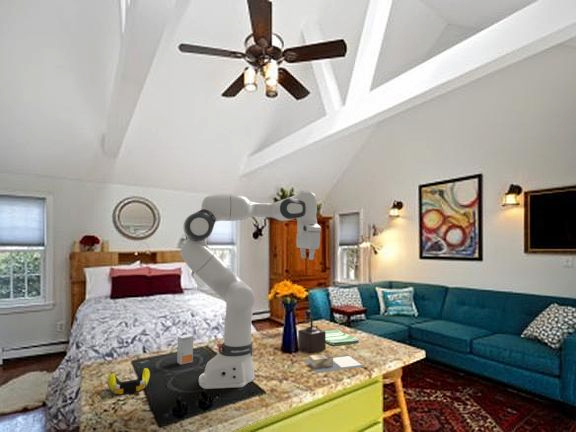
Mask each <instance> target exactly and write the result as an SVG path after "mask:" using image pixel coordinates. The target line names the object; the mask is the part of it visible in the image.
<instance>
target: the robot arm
mask: <svg viewBox="0 0 576 432" xmlns="http://www.w3.org/2000/svg"><path fill="white" fill-rule="evenodd" d="M201 202H202V203H201V209H200V210H198V211H196V212H194V213H192V214H190V215H188V216H187V217H186V218H185V220H184V221H183V227H182V228H183V233H184V236H185V240H186V241H185V243H183V244H182V246H181V248H180V252H179V254H180V255H179V256H180V257H181V259H182V260H183V261H184V263H185V264H186V266H187V267H188V268H189V269H190V270H191V271H192V272H193V273H194V274H195V275H196V276H197V277H198V278H199V279H200V280H201V281H202V282H203V283H204V284H206V285H207V287H209V288H210V289H211V290H212V291H214V293H215V294H216V295H217V296H219V297H220V298H221V299H222V300H223V301H224V302H225V304H226V305H225V306H226V307H225V319H224V324H223V325H224V327H223V328H224V329H223V333H224V335H223V337H224V338H223V343H222V342H218V343H217V344H216V347H217V349H218V353H217V354H216V355H215V356H213V357H212V358H211V359H210V360H209V361H207V363H206V365H205V369H204V372H203V373H201V374H200V375H199V377H198V385H199V386H200V387H201V388H202V389H205V390H210V389H211V390H213V389H227V388H228V389H230V388H243V387H245V386H246V385H247V384H248V383H251V382H253V381H254V380H255V379H256V378H255V377H256V375H255V371H254V366H253V350H254V349H253V348H254V347H253V342H252V320H253V316H254V315H253V314H254V304H255V299H256V297H255V293H254V290H253V289H252V288H251V286H250V285H248V284H246V283H245V282H244V281H243V280H242V279H241V278H240V277H239V275H237V274H236V273H235V272H234V271H233V270H232V269H231V268H230V267H229V266H228V265H227V264H226V263H225V262H224V261H223V260H222V259H221V257H219V256H218V255H217V254H216V253H215V252H214V251H213V250H212V249H211V248H210V247H209V246H208V244H207V241H206V239H208V238H209V237H210V236H211V234H213V233H212V232H213V230H214V227H215V225H216V222H222V221H223V222H232V221H233V222H236V221H237V222H238V221H242V220H247V219H250V218H256V217H258V218H259V217H260V218H271V219H274V220H275V221H279V222H287V221H291V220H294V219H296V221H297V222H296V223H297V227H296V228H297V229H296V231H297V233H296V242H295V243H296V244H295V245H296V248H299V250H300V251H299V252H300V257H301V259H306V258H307V254H306V250H308V251H309V255H308V260H310V261H314V259H315V257H314V256H315V253H316V250H319V249H320V247H321V231H322V227H321V226H320V225H319V224H318V219H317V213H318V205H317V204H318V202H317V196H316V194H315V193H313V192H312V191H308V190H300V191H298V192H297V193H296V194H294V195H292V196H290V197H287V198H283V199H280V200H277V201H275V202H272V203H267V202H266V203H264V202H254V201H252V200H250V199H248V198H247V197H246V196H243V195H239V194H232V193H231V194H227V193H224V194H221V193H220V194H212V195H208V196H205V197H204V199H203V200H202V201H201Z"/></svg>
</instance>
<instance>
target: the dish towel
mask: <svg viewBox="0 0 576 432" xmlns="http://www.w3.org/2000/svg"><path fill="white" fill-rule="evenodd" d="M324 331H325V333H326V343H327V344H329V345H331V346H343V345H352V344H358V343H360V339H359V338H357V337H355V336H353V335H351V334H347V333H344V332H342V331H341V330H340V329H339V328H337V329H334V330H324Z"/></svg>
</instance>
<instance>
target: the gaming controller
mask: <svg viewBox="0 0 576 432" xmlns="http://www.w3.org/2000/svg"><path fill="white" fill-rule="evenodd" d="M150 377H151V371H150V370H149V368H148V367H146V368H145V367H144V368H143V369H142V371H141V373H140V375H139V377H138V378H137V379H132V380H131V379H130V380H125V381H120V380H119V379H118V377H117V376H116V374H115V373H110V374H108V377H107V387H108V388H109V391H111V393H113V394H114V395H123V394H124V395H125V394H129V393H135V392H139V391H141V390H144V389H145V388H146V387H147V386H148V385H149V381H150Z"/></svg>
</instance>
